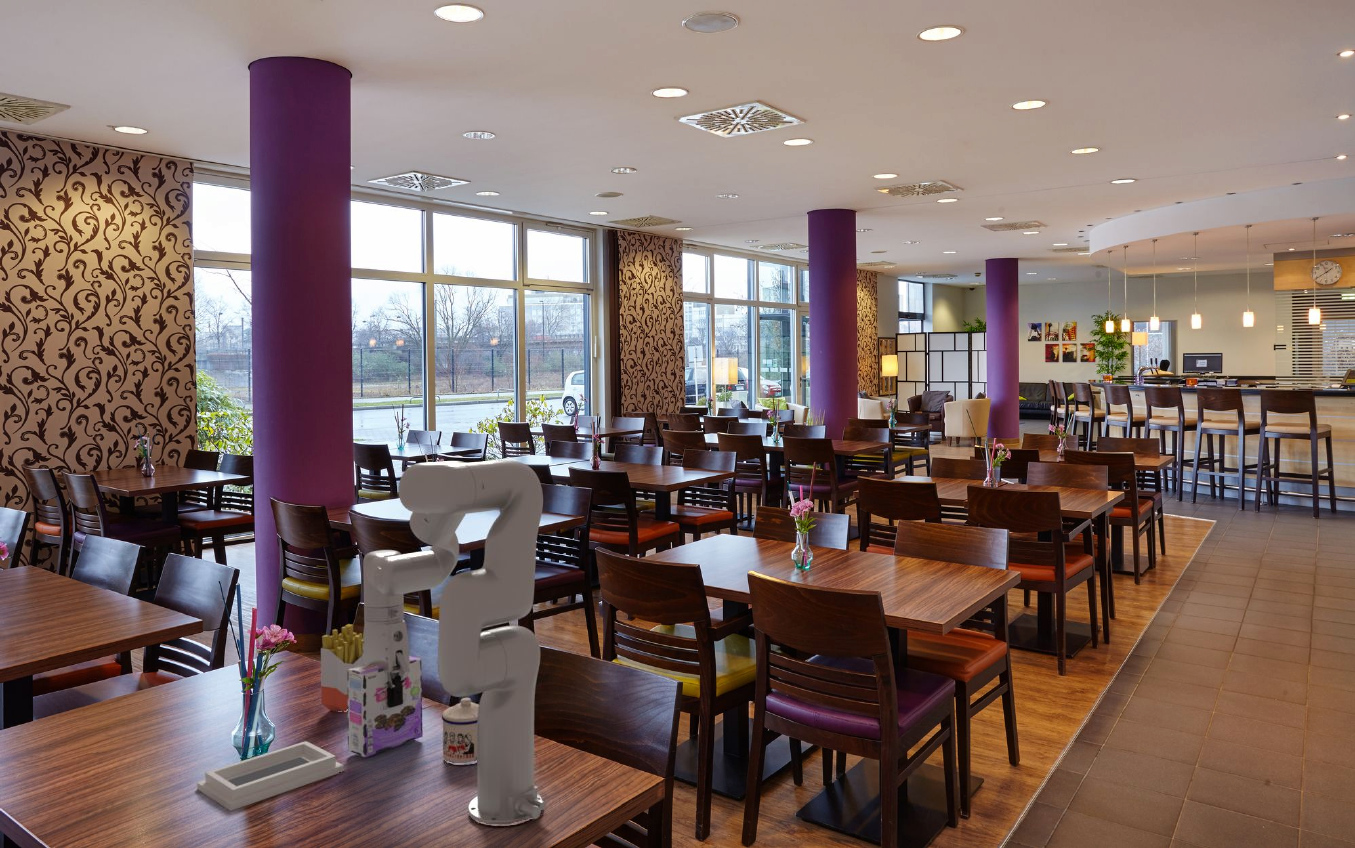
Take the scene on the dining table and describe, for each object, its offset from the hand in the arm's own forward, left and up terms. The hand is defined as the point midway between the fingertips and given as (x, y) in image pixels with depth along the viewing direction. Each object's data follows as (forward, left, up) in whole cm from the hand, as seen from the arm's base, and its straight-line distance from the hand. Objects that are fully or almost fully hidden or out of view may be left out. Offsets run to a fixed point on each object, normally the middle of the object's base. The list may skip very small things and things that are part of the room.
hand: (385, 701), depth 182 cm
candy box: (0, 0, -9) cm, 9 cm away
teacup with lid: (-17, -8, -10) cm, 21 cm away
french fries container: (+27, -7, -10) cm, 29 cm away
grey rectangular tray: (+3, +22, -9) cm, 24 cm away
